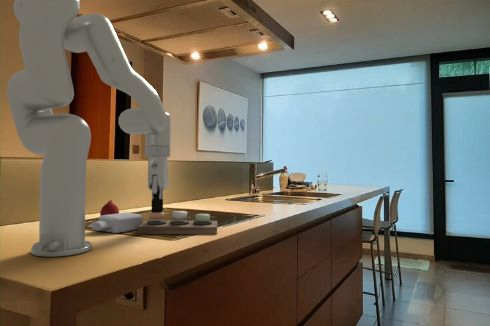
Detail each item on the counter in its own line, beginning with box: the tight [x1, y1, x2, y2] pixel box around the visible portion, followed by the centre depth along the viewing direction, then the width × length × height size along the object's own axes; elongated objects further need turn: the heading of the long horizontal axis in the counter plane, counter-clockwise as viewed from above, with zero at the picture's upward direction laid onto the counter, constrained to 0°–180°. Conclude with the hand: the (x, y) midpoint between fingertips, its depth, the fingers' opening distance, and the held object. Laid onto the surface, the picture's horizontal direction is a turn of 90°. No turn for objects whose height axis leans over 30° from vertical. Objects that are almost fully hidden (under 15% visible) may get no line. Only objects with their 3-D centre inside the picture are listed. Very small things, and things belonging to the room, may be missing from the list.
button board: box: [136, 219, 218, 235], centre depth 112 cm, size 12×23×3 cm, turn 94°
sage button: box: [194, 213, 211, 222], centre depth 113 cm, size 4×4×2 cm
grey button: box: [171, 210, 188, 220], centre depth 112 cm, size 4×4×2 cm
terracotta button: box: [148, 211, 165, 220], centre depth 112 cm, size 4×4×2 cm
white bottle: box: [87, 212, 143, 234], centre depth 110 cm, size 5×9×15 cm
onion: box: [99, 199, 120, 217], centre depth 121 cm, size 6×6×8 cm
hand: (157, 212), depth 112 cm, fingers closed
